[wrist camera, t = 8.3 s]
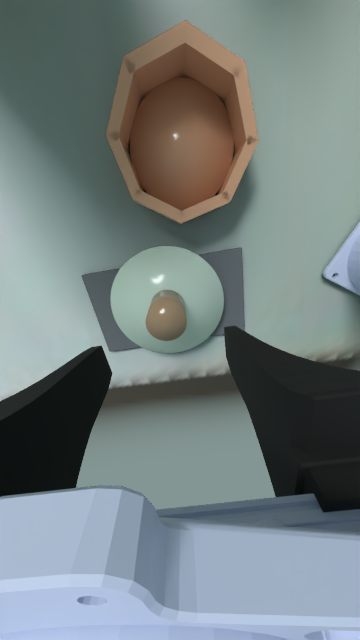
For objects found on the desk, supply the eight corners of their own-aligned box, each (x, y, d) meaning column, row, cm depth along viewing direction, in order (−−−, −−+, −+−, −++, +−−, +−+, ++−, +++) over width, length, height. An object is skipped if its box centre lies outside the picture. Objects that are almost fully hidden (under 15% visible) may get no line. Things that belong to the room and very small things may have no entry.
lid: (241, 274, 18) (262, 288, 13) (192, 359, 21) (197, 391, 17) (134, 223, 16) (119, 221, 12) (101, 327, 19) (81, 353, 15)
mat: (240, 247, 17) (241, 247, 17) (243, 329, 20) (244, 331, 20) (83, 274, 18) (81, 275, 17) (110, 349, 21) (109, 351, 21)
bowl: (264, 113, 13) (283, 88, 11) (207, 237, 17) (212, 238, 14) (145, 35, 12) (138, -13, 9) (108, 189, 15) (95, 181, 13)
